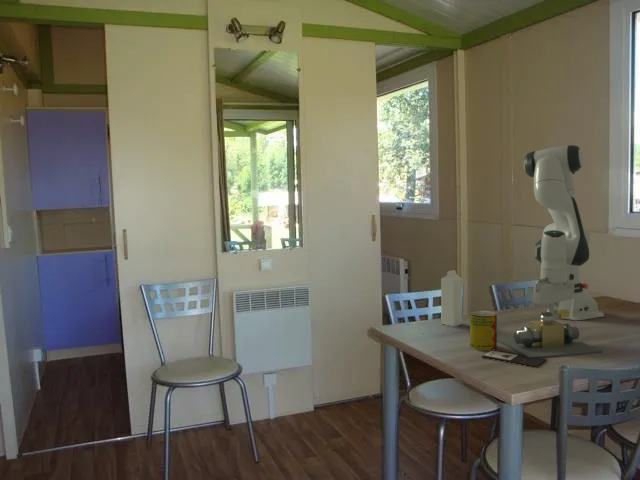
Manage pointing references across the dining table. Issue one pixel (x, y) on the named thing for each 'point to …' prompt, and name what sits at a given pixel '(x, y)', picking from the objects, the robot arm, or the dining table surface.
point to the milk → (451, 299)
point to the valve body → (546, 334)
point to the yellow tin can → (483, 330)
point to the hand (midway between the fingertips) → (553, 314)
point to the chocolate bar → (514, 358)
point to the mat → (535, 351)
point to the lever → (554, 316)
